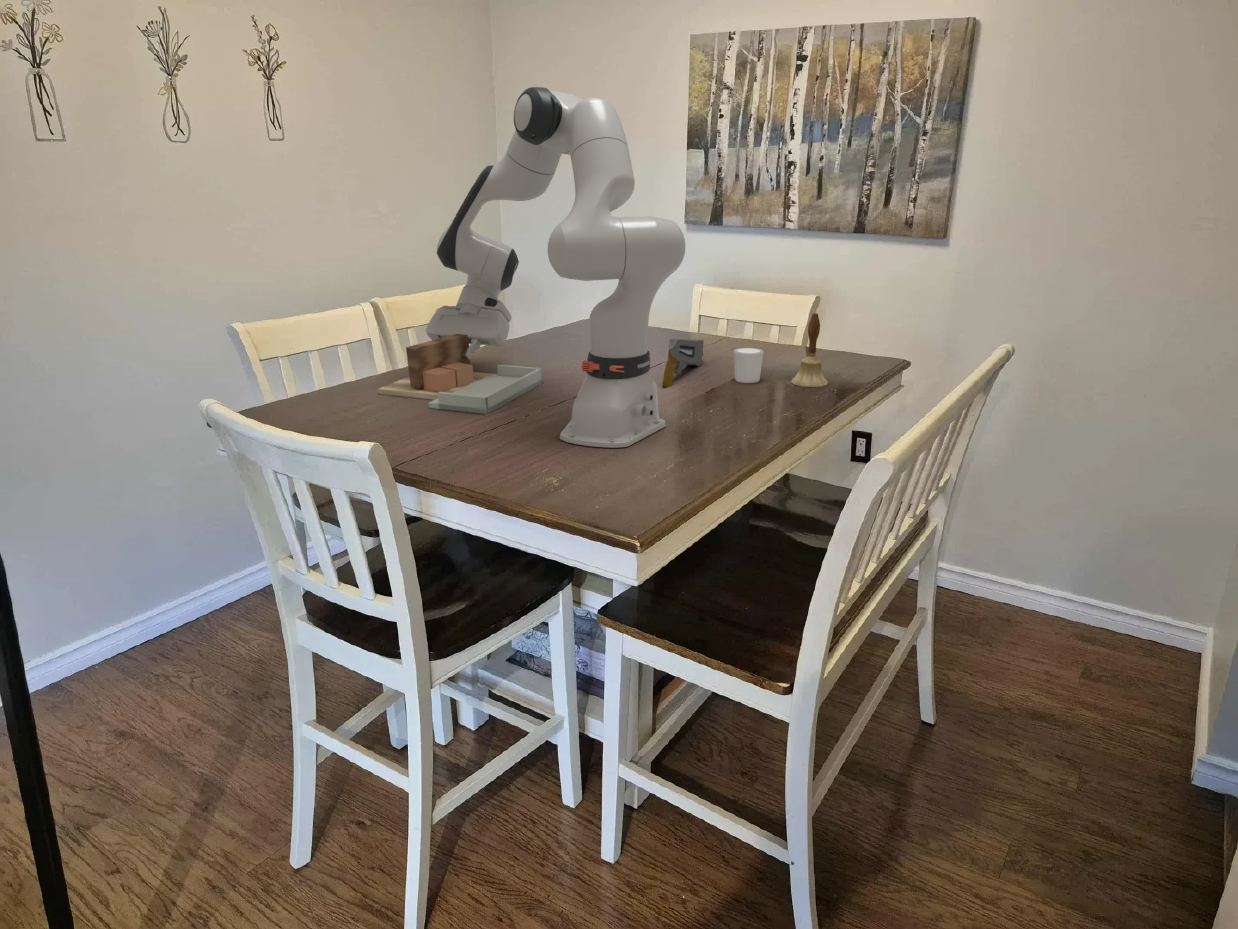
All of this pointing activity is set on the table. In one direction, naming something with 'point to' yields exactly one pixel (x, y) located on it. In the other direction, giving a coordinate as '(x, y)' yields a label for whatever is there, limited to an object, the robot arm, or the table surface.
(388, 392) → the board
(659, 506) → the table surface
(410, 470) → the table surface
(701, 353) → the gun
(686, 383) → the table surface
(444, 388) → the terracotta block
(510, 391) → the tray
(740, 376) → the white tapered cylinder
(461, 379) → the terracotta square block
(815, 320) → the hand bell
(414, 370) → the bar
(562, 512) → the table surface
